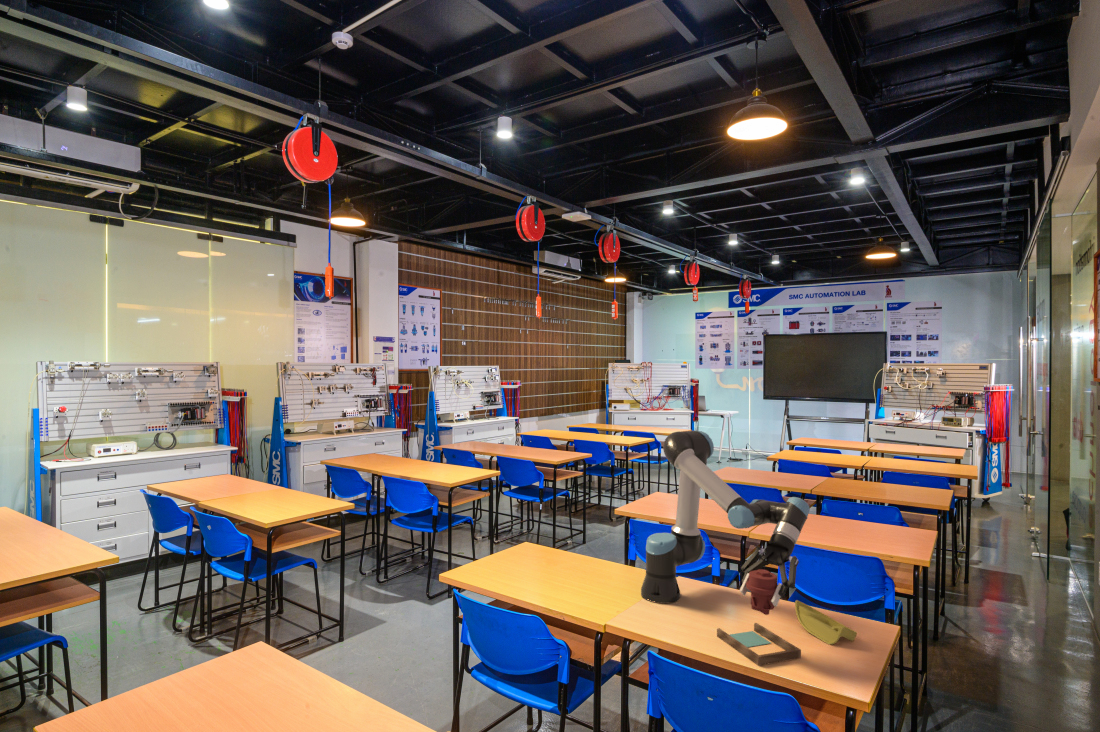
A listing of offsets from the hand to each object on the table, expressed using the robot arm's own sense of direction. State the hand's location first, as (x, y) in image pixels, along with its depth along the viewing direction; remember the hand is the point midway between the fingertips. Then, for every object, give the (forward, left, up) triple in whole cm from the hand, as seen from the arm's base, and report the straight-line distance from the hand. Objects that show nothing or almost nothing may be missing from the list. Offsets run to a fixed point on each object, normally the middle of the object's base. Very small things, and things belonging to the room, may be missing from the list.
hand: (757, 598), depth 173 cm
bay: (-3, +3, -17) cm, 17 cm away
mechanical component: (-1, +3, -5) cm, 6 cm away
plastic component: (-6, +33, -17) cm, 37 cm away
